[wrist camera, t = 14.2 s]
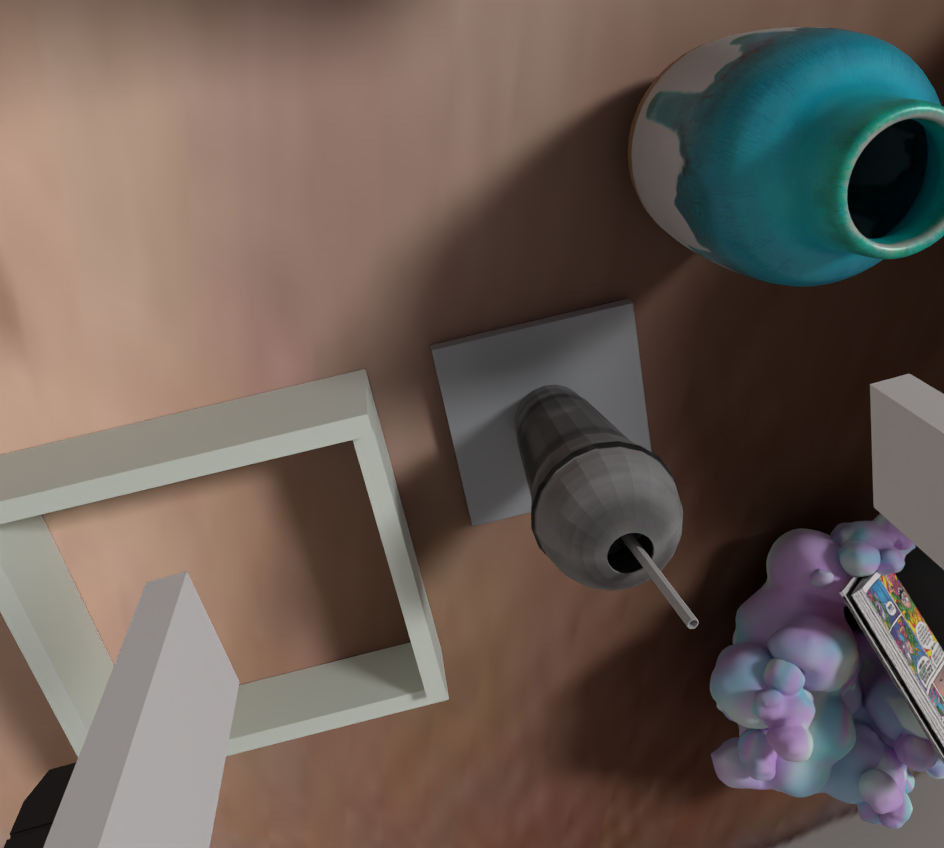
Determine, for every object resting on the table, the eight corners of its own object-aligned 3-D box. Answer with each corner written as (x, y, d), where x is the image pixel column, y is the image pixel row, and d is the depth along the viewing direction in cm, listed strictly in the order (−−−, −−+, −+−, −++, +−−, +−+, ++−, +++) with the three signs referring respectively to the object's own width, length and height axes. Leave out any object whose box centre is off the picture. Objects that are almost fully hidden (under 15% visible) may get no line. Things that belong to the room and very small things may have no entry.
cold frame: (-10, 457, 48) (-65, 517, 41) (365, 368, 49) (367, 413, 42) (124, 728, 56) (96, 812, 50) (441, 649, 57) (452, 721, 51)
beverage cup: (523, 344, 48) (632, 509, 30) (630, 387, 50) (792, 567, 32) (471, 451, 51) (544, 665, 32) (575, 488, 53) (698, 709, 34)
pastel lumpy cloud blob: (621, 746, 57) (856, 982, 45) (748, 475, 49) (1074, 678, 37) (774, 672, 70) (985, 839, 59) (894, 449, 62) (1167, 593, 50)
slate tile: (429, 345, 49) (431, 350, 48) (627, 298, 49) (633, 303, 48) (470, 518, 54) (472, 526, 53) (649, 474, 54) (654, 481, 53)
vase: (692, 274, 49) (880, 386, 32) (565, 151, 46) (698, 203, 28) (825, 129, 47) (1107, 166, 30) (703, -12, 43) (942, -66, 26)
